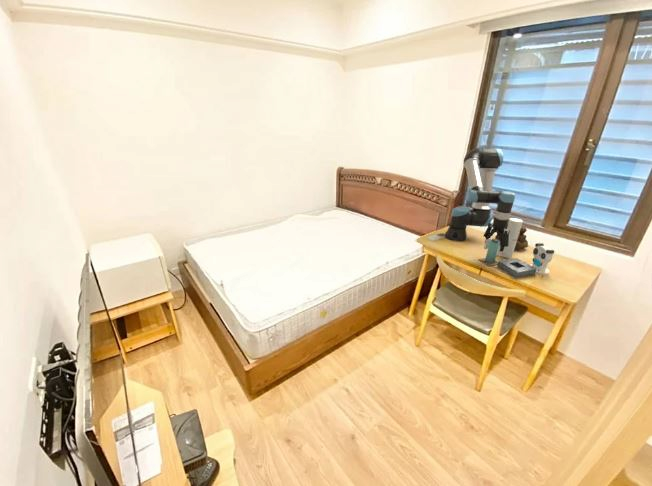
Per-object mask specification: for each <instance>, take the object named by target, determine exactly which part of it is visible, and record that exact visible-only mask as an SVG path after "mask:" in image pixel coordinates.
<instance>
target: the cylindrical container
mask: <svg viewBox="0 0 652 486" xmlns="http://www.w3.org/2000/svg"><path fill="white" fill-rule="evenodd" d="M508 220H509V223H508V227H507V230H510V233H509V242H508V246H507V247H504V250H503V251H502V254H501V257H503V258H508V259H512V258H513V255H514V252H515V250H514V249H515V245H516V242H517V239H518V235H519V232H520V229H521V227H523V226H522V225H523V219H520V218H516V217H509V219H508Z"/></svg>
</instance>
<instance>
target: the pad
mask: <svg viewBox="0 0 652 486" xmlns="http://www.w3.org/2000/svg"><path fill="white" fill-rule="evenodd" d="M485 259H486V257H484V258H478V261H480V262H481V263H482V264H484V265H486V266H487V267H495V266H497V265H498V261H497V260H496V259H495V262H494V263H487V262H486V261H485Z"/></svg>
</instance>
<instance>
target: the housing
mask: <svg viewBox="0 0 652 486" xmlns="http://www.w3.org/2000/svg"><path fill="white" fill-rule="evenodd" d="M497 262H498V265H496V267H497V268H499V269H500V270H502V271H503V272H505V273H506V274H509V275H510V276H511V277H513V278H515V279H519V278H524V277H530V276H535V275H536V274H537V273H536V270H537V269H536V268H534V267H533V266H531V265H529V263H526V262H525V261H524V260H521V259H519V258H517V257H516V258H508V259H503V260H498V261H497Z"/></svg>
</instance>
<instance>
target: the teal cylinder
mask: <svg viewBox="0 0 652 486" xmlns="http://www.w3.org/2000/svg"><path fill="white" fill-rule="evenodd" d="M499 244H500V242H499V240H497V239H495V238H492V239H491V240H490V244H489V248H488V249H487V251H486V256H485V258H486V259H485V261H486V262H487V263H494V262H495V260H496V258H497V252H498V248H499V246H500V245H499Z"/></svg>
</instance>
